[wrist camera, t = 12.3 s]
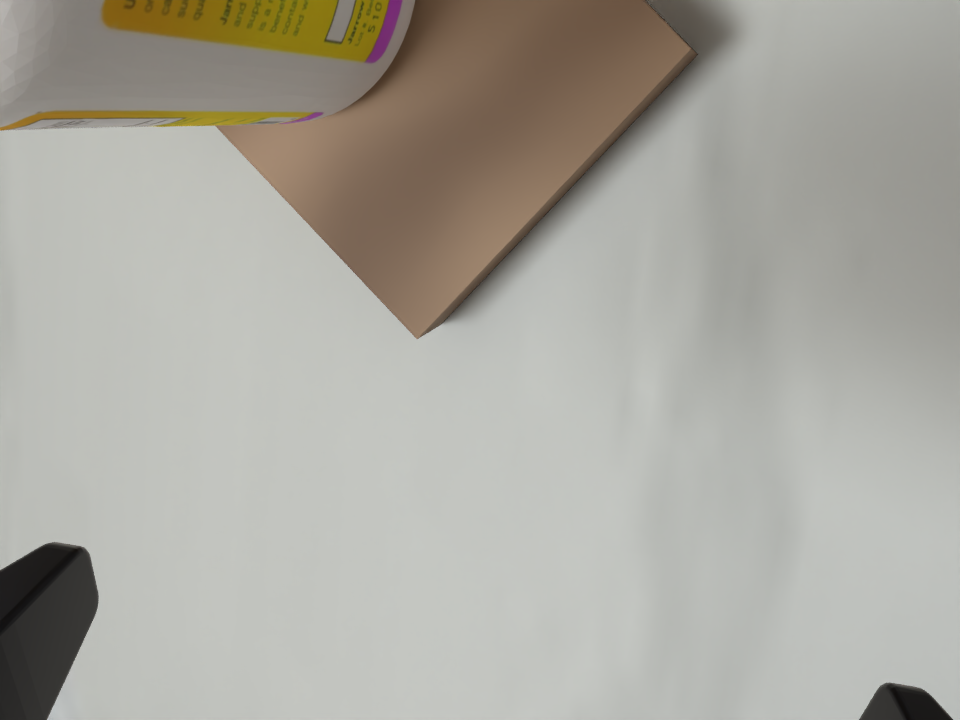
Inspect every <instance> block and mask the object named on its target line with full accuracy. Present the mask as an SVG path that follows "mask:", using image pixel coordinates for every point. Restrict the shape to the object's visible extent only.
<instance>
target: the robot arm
mask: <svg viewBox="0 0 960 720" xmlns="http://www.w3.org/2000/svg"><path fill="white" fill-rule="evenodd" d="M98 598H99V597H98V590H97V585H96V581H95V576H94V572H93V567H92V563H91V558H90V555H89V552H88V551H87V550H86V549H85V548H84V547H81V546H76V545H70V544H64V543H57V542H52V543H48V544H45V545H43V546H41V547H39V548H37V549H36V550H34V551H32V552H30V553H29V554H27V555H25V556H24V557H22V558H20V559H19V560H17V561H15V562H13V563H12V564H10V565H8V566H7V567H5V568H3V569H2V570H0V720H47V718H48V716H49V714H50V712H51V710H52V708H53V705H54V703H55V701H56V699H57V697H58V695H59V692H60V690H61V688H62V686H63V684H64V682H65V680H66V677H67V675H68V673H69V671H70V669H71V667H72V664H73V662H74V660H75V658H76V656H77V654H78V651H79V649H80V647H81V645H82V643H83V641H84V638H85V636H86V634H87V632H88V630H89V628H90V625H91V623H92V621H93V619H94V617H95V614H96V611H97V607H98ZM859 720H953V719H952V718H951V717H950V716H949V715H948V713H947V712H946V711H945V710H944V709H943V708H942V707H941V706H940V705H939V704H938V703H937V701H936V700H935V699H934V698H933V697H932V696H931V695H930V694H929V693H927V692H926V691H925V690H923V689H921V688H917V687H913V686H907V685H901V684H895V683H885V684H883V685H881V686H880V687H879V688H878V690H877V691H876V693H875V694H874V696H873V698H872V699H871V701H870V703H869V704H868V706H867V708H866V709H865V711H864V713H863V714H862V716H861V718H860V719H859Z"/></svg>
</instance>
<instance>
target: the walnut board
mask: <svg viewBox="0 0 960 720" xmlns="http://www.w3.org/2000/svg"><path fill="white" fill-rule="evenodd" d="M697 55H698V54H697V53H696V52H695V51H694V50H693V49H692V48H691V47H690V46H689V45H688V44H687V43H686V42H685V41H684V40H683V39H682V38H681V37H680V36H679V35H678V34H677V33H676V32H675V31H674V30H673V29H672V28H671V27H670V26H669V24H668V23H667V22H666V21H665V20H664V19H663V18H662V17H661V16H660V15H659V14H658V13H657V12H656V11H655V10H654V9H653V8H652V7H651V6H650V5H649V4H648V3H647V2H646V1H645V0H415V4H414V8H413V12H412V16H411V20H410V24H409V27H408V29H407V32H406V35H405V37H404V40H403V42H402V44H401V46H400V48H399V50H398V53H397V54H396V56H395V58H394V59H393V61H392V63H391V64H390V66H389V67H388V69H387V70H386V71H385V73H384V74H383V75H382V77H381V78H380V79H379V80H378V81H377V82H376V84H375V85H374V86H373V87H372V88H371V89H370V90H369V91H367V92H366V93H365V94H364V95H363V96H362V97H361V98H360V99H358V100H357V101H355V102H354V103H352V104H351V105H349V106H348V107H346V108H344V109H343V110H340V111H338V112H336V113H334V114H332V115H329V116H326V117H323V118H320V119H316V120H312V121H306V122H298V123H288V124H260V125H215V126H216V127H217V128H218V129H219V130H220V131H221V132H222V133H223V134H224V135H225V136H226V138H227V139H228V140H229V141H230V142H231V143H232V144H233V145H234V146H235V147H236V148H237V149H238V150H239V151H240V152H241V153H242V154H243V156H244V157H245V158H246V159H247V160H248V161H249V162H250V163H251V164H252V165H253V166H254V167H255V168H256V169H257V170H258V171H259V172H260V174H261V175H262V176H263V177H264V178H265V179H266V180H267V181H268V182H269V183H270V184H271V185H272V186H273V187H274V188H275V189H276V190H277V191H278V193H279V194H280V195H281V196H282V197H283V198H284V199H285V200H286V201H287V202H288V203H289V204H290V205H291V206H292V207H293V208H294V209H295V211H296V212H297V213H298V214H299V215H300V216H301V217H302V218H303V219H304V220H305V221H306V222H307V223H308V224H309V225H310V226H311V227H312V229H313V230H314V231H315V232H316V233H317V234H318V235H319V236H320V237H321V238H322V239H323V240H324V241H325V242H326V243H327V244H328V245H329V247H330V248H331V249H332V250H333V251H334V252H335V253H336V254H337V255H338V256H339V257H340V258H341V259H342V260H343V261H344V262H345V263H346V264H347V266H348V267H349V268H350V269H351V270H352V271H353V272H354V273H355V274H356V275H357V276H358V277H359V278H360V279H361V280H362V281H363V282H364V284H365V285H366V286H367V287H368V288H369V289H370V290H371V291H372V292H373V293H374V294H375V295H376V296H377V297H378V298H379V299H380V300H381V302H382V303H383V304H384V305H385V306H386V307H387V308H388V309H389V310H390V311H391V312H392V313H393V314H394V315H395V316H396V317H397V318H398V320H399V321H400V322H401V323H402V324H403V325H404V326H405V327H406V328H407V329H408V330H409V331H410V332H411V333H412V334H413V335H414V336H415V338H416V339H418V338H420V337H422V336H423V335H425V334H426V333H428V332H430V331H431V330H433V329H435V328H436V327H438V326H439V325H441V324H442V323H443V322H444V321H445V320H446V318H447V317H448V316H449V315H450V314H451V313H452V312H453V311H454V310H455V309H456V308H457V307H458V306H459V305H460V304H461V303H462V302H463V301H464V300H465V299H466V297H467V296H468V295H469V294H470V293H471V292H472V291H473V290H474V289H475V288H476V287H477V286H478V285H479V284H480V283H481V282H482V281H483V280H484V279H485V278H486V276H487V275H488V274H489V273H490V272H491V271H492V270H493V269H494V268H495V267H496V266H497V265H498V264H499V263H500V262H501V261H502V260H503V259H504V258H505V257H506V255H507V254H508V253H509V252H510V251H511V250H512V249H513V248H514V247H515V246H516V245H517V244H518V243H519V242H520V241H521V240H522V239H523V238H524V237H525V235H526V234H527V233H528V232H529V231H530V230H531V229H532V228H533V227H534V226H535V225H536V224H537V223H538V222H539V221H540V220H541V219H542V218H543V217H544V216H545V214H546V213H547V212H548V211H549V210H550V209H551V208H552V207H553V206H554V205H555V204H556V203H557V202H558V201H559V200H560V199H561V198H562V197H563V196H564V195H565V193H566V192H567V191H568V190H569V189H570V188H571V187H572V186H573V185H574V184H575V183H576V182H577V181H578V180H579V179H580V178H581V177H582V176H583V175H584V174H585V172H586V171H587V170H588V169H589V168H590V167H591V166H592V165H593V164H594V163H595V162H596V161H597V160H598V159H599V158H600V157H601V156H602V155H603V154H604V153H605V151H606V150H607V149H608V148H609V147H610V146H611V145H612V144H613V143H614V142H615V141H616V140H617V139H618V138H619V137H620V136H621V135H622V134H623V133H624V131H625V130H626V129H627V128H628V127H629V126H630V125H631V124H632V123H633V122H634V121H635V120H636V119H637V118H638V117H639V116H640V115H641V114H642V113H643V112H644V110H645V109H646V108H647V107H648V106H649V105H650V104H651V103H652V102H653V101H654V100H655V99H656V98H657V97H658V96H659V95H660V94H661V93H662V92H663V91H664V89H665V88H666V87H667V86H668V85H669V84H670V83H671V82H672V81H673V80H674V79H675V78H676V77H677V76H678V75H679V74H680V73H681V72H682V71H683V70H684V68H685V67H686V66H687V65H688V64H689V63H690V62H691V61H692V60H693V59H694V58H695V57H696V56H697Z"/></svg>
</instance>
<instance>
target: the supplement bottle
mask: <svg viewBox="0 0 960 720" xmlns="http://www.w3.org/2000/svg"><path fill="white" fill-rule="evenodd" d="M414 4H415V0H0V130H25V129H63V128H98V127H149V126H156V127H166V126H213V125H260V124H288V123H298V122H306V121H312V120H316V119H320V118H323V117H326V116H329V115H332V114H334V113H336V112H338V111H340V110H343V109H344V108H346V107H348V106H349V105H351V104H352V103H354V102H355V101H357V100H358V99H360V98H361V97H362V96H363V95H364V94H365V93H366V92H367V91H369V90H370V89H371V88H372V87H373V86H374V85H375V84H376V82H377V81H378V80H379V79H380V78H381V77H382V75H383V74H384V73H385V71H386V70H387V69H388V67H389V66H390V64H391V63H392V61H393V59H394V58H395V56H396V54H397V53H398V50H399V48H400V46H401V44H402V42H403V40H404V37H405V35H406V32H407V29H408V27H409V24H410V20H411V16H412V12H413V8H414Z"/></svg>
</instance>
